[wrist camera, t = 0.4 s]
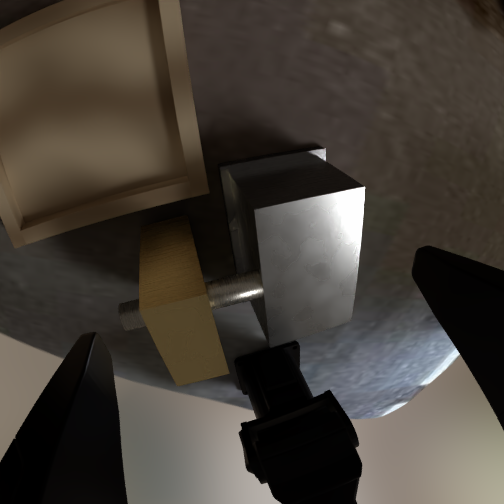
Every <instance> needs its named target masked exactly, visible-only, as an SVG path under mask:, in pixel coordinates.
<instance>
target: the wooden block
mask: <svg viewBox="0 0 504 504" xmlns="http://www.w3.org/2000/svg"><path fill="white" fill-rule="evenodd" d="M139 311H140V313H141V315H142V317H143V320H144V322H145V324H146V326H147V328H148V330H149V332H150V334H151V336H152V338H153V341H154V343H155V345H156V347H157V349H158V351H159V353H160V355H161V356H162V358H163V360H164V362H165V364H166V366H167V368H168V370H169V372H170V374H171V376H172V377H173V379H174V381H175V383H176V385H177V386H181V385H185V384H190V383H194V382H198V381H202V380H206V379H210V378H214V377H218V376H222V375H226V374H230V373H229V370H228V367H227V363H226V360H225V356H224V353H223V349H222V346H221V342H220V339H219V335H218V332H217V328H216V325H215V321H214V317H213V314H212V310H211V306H210V302H209V299H208V295H207V291H206V287H205V284H204V280H203V276H202V272H201V268H200V264H199V260H198V256H197V252H196V248H195V244H194V240H193V236H192V232H191V227H190V223H189V219H188V215H184V216H180V217H176V218H172V219H168V220H164V221H160V222H157V223H153V224H149V225H145V226H141V239H140V271H139Z"/></svg>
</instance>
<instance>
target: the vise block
mask: <svg viewBox="0 0 504 504" xmlns="http://www.w3.org/2000/svg"><path fill="white" fill-rule="evenodd" d="M218 166H219V173H220V179H221V185H222V191H223V197H224V203H225V209H226V215H227V221H228V227H229V233H230V239H231V245H232V251H233V257H234V262H235V268H236V275H232V276H228V277H224V278H220V279H216V280H212V281H208V282H204V284H205V287H206V291H207V295H208V299H209V302H210V306H211V310H215V309H219V308H223V307H227V306H230V305H234V304H238V303H242V302H247V301H250V302H251V305H252V307H253V309H254V312H255V314H256V316H257V319H258V321H259V323H260V326H261V328H262V330H263V333H264V335H265V337H266V340H267V342H268V344H269V347H270V348H271V347H274V346H278V345H281V344H284V343H287V342H291V341H294V340H297V339H300V338H303V337H306V336H309V335H312V334H315V333H318V332H321V331H324V330H327V329H330V328H332V327H335V326H338V325H341V324H344V323H346V322H349V321H351V318H352V311H353V305H354V297H355V290H356V282H357V274H358V265H359V256H360V246H361V236H362V224H363V211H364V195H365V187H364V186H363V185H362V184H360V183H359V182H357V181H356V180H354V179H353V178H351V177H350V176H348V175H347V174H345V173H343V172H342V171H340V170H339V169H337V168H336V167H334V166H333V165H331V164H330V163H328V162H326V149H325V148H323V147H314V148H307V149H301V150H294V151H288V152H282V153H276V154H270V155H264V156H259V157H253V158H248V159H243V160H238V161H233V162H228V163H223V164H218ZM119 316H120V320H121V323H122V325H123V327H124V329H125V330H126V331H129V330H133V329H138V328H142V327H146V324H145V322H144V320H143V317H142V315H141V313H140V311H139V299H136V300H132V301H128V302H124V303H120V304H119Z"/></svg>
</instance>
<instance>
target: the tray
mask: <svg viewBox="0 0 504 504" xmlns="http://www.w3.org/2000/svg"><path fill="white" fill-rule="evenodd" d="M208 193H209V188H208V182H207V177H206V171H205V165H204V160H203V154H202V148H201V142H200V136H199V130H198V124H197V118H196V112H195V106H194V100H193V94H192V87H191V81H190V74H189V68H188V61H187V54H186V47H185V40H184V33H183V26H182V19H181V11H180V4H179V0H63V1H61V2H58V3H56V4H53V5H51V6H48V7H46V8H44V9H41V10H39V11H37V12H34V13H32V14H30V15H28V16H26V17H24V18H22V19H20V20H18V21H16V22H14V23H12V24H10V25H8V26H6V27H4V28H2V29H0V217H1V219H2V221H3V224H4V226H5V228H6V230H7V233H8V235H9V237H10V239H11V241H12V243H13V246H14V248H18V247H21V246H24V245H27V244H30V243H33V242H36V241H39V240H42V239H45V238H48V237H51V236H54V235H57V234H60V233H64V232H67V231H70V230H73V229H77V228H80V227H83V226H87V225H90V224H93V223H97V222H100V221H104V220H107V219H111V218H114V217H118V216H121V215H125V214H129V213H132V212H136V211H140V210H144V209H147V208H151V207H155V206H159V205H163V204H167V203H171V202H175V201H179V200H183V199H187V198H191V197H195V196H200V195H204V194H208Z"/></svg>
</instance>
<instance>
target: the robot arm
mask: <svg viewBox="0 0 504 504" xmlns="http://www.w3.org/2000/svg"><path fill="white" fill-rule="evenodd" d="M412 277H413V279H414V281H415V283H416V284H417V286H418V288H419V289H420V291H421V293H422V294H423V296H424V298H425V300H426V301H427V303H428V305H429V307H430V308H431V310H432V312H433V314H434V315H435V317H436V318H437V320H438V322H439V323H440V325H441V326H442V327H443V329H444V330H445V332H446V333H447V335H448V336H449V338H450V339H451V341H452V342H453V344H454V346H455V347H456V349H457V350H458V352H459V353H460V355H461V356H462V358H463V360H464V361H465V363H466V364H467V366H468V368H469V369H470V371H471V372H472V374H473V376H474V377H475V379H476V381H477V383H478V384H479V386H480V387H481V389H482V391H483V393H484V394H485V396H486V398H487V400H488V402H489V403H490V405H491V407H492V409H493V411H494V412H495V414H496V416H497V417H498V418H497V419H498V420H499V422H500V424H501V426H502V428H503V430H504V271H503V270H500V269H498V268H495V267H492V266H489V265H486V264H483V263H481V262H478V261H475V260H472V259H469V258H466V257H463V256H460V255H457V254H454V253H451V252H448V251H445V250H442V249H439V248H436V247H432V246H424V247H421V248H418V249H417V251H416V253H415V258H414V262H413V267H412ZM234 363H235V367H236V371H237V375H238V378H239V382H240V386H241V390H242V393H243V394H244V395H248V396H249V399H250V401H251V404H252V407H253V410H254V413H255V416H256V419H255V420H252V421H249V422H243V423H241V427H242V430H241V431H240V432H239V436H240V439H241V442H242V446H243V451H244V457H245V465H246V469H247V471H248V472H250V473H253V474H254V475H255V476H256V478H258V480H259V481H260V483H261V484H264V483H268V485H269V488H270V490H271V493H272V495H273V497H274V498H275V499H276V500H277V501H279V502H281V503H282V504H357V502H356V494H357V489H358V483H359V478H360V477H361V473H362V462H361V460H360V457H359V455H358V453H357V450H356V447H358V446H359V441H358V437H357V434H356V432H355V429H354V427H353V425H352V423H351V421H350V419H349V417H348V416H347V414H346V413H345V411H344V410H343V408H342V407H341V405H340V404H339V402H338V401H337V400H336V398H335V397H334V395H333V394H332V392H331V391H330V390H327V391H325V392H324V393H323V394H320V395H318V396H316V397H313V395H312V393H311V391H310V389H309V387H308V385H307V383H306V381H305V379H304V377H303V375H302V373H301V370H300V345H299V343H298V342H297V341H294V342H291V343H288V344H284V345H281V346H278V347H275V348H271V349H268V350H265V351H261V352H258V353H254V354H251V355H247V356H244V357H240V358H237V359H236V360H235V361H234ZM15 438H16V439H13V441H12V443H11V444H10V446H9V448H8V450H7V451H6V453H5V455H4V456H3V458H2V460H1V462H0V504H128V503H127V495H126V487H125V480H124V470H123V460H122V449H121V436H120V420H119V410H118V402H117V396H116V389H115V382H114V373H113V365H112V359H111V355H110V353H109V351H108V350H107V348H106V346H105V344H104V343H103V341H102V339H101V337H100V336H99V334H98V333H96V332H91V333H86V334H82V335H81V336H80V337H79V339H78V340H77V342H76V343H75V344H74V346H73V347H72V349H71V350H70V352H69V353H68V354H67V356H66V357H65V359H64V360H63V362H62V363H61V365H60V366H59V368H58V369H57V371H56V372H55V373H54V375H53V376H52V378H51V379H50V381H49V383H48V384H47V386H46V387H45V389H44V390H43V392H42V393H41V395H40V396H39V398H38V400H37V401H36V403H35V404H34V406H33V408H32V409H31V411H30V412H29V414H28V416H27V417H26V419H25V421H24V422H23V424H22V426H21V427H20V429H19V431H18V432H17V434H16V436H15Z"/></svg>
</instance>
